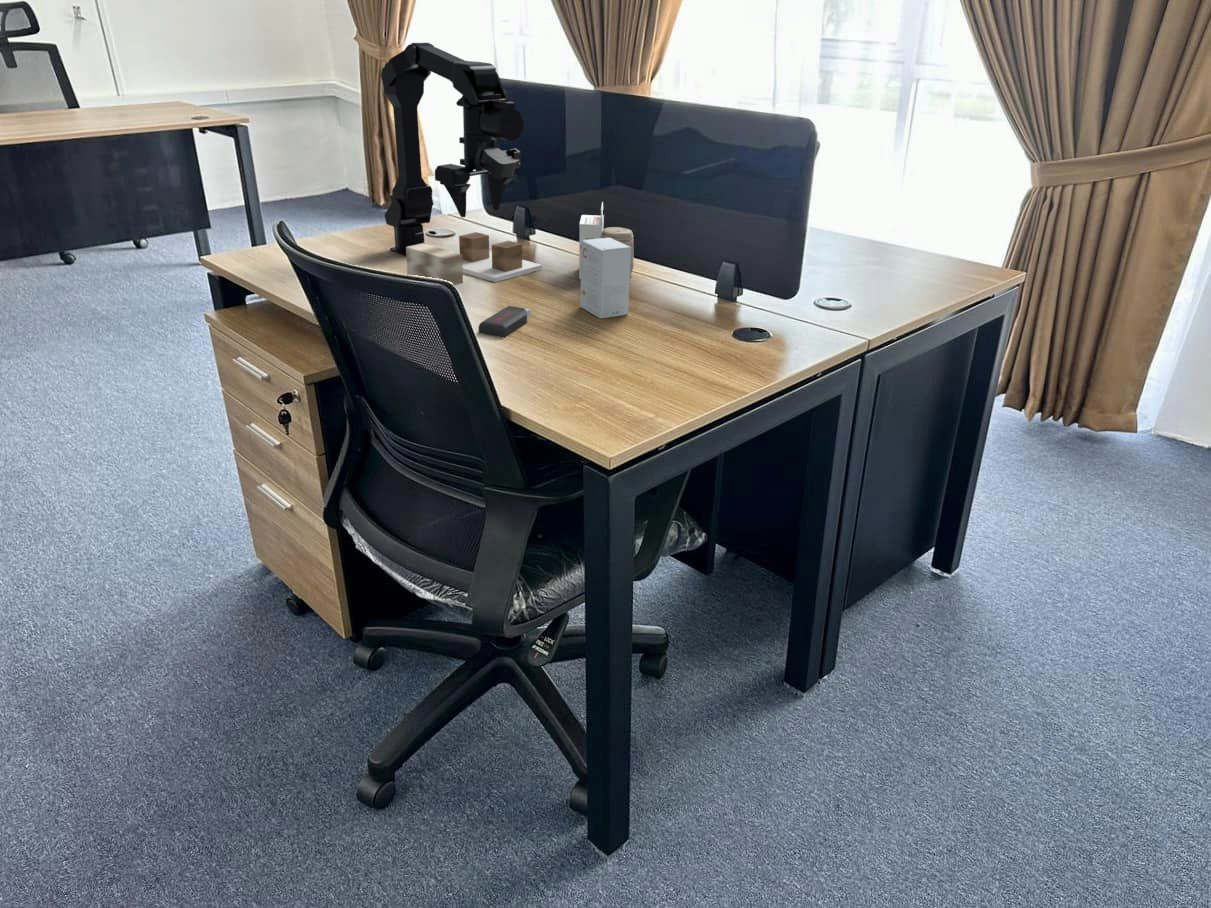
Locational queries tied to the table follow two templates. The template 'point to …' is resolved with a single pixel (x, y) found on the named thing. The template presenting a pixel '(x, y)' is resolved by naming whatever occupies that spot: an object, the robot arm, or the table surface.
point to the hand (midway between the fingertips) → (479, 213)
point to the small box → (605, 277)
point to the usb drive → (505, 321)
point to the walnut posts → (503, 253)
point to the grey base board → (488, 273)
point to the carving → (621, 239)
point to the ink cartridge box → (590, 230)
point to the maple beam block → (434, 263)
